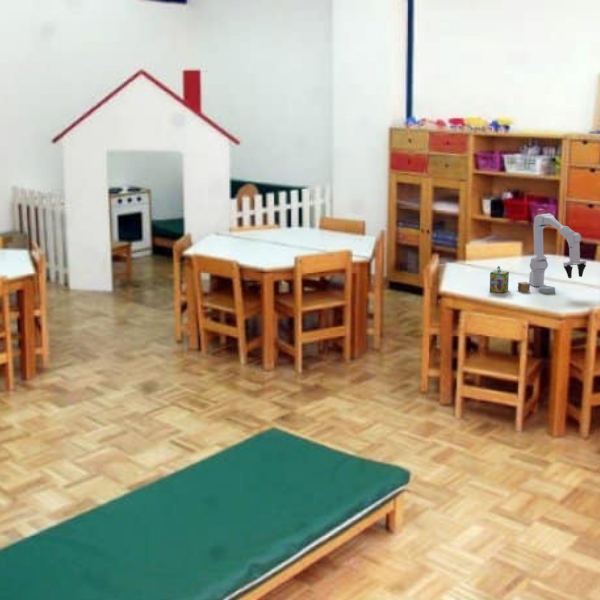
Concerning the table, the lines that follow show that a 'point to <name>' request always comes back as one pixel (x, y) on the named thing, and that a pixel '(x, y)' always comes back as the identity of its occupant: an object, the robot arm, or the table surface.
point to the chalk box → (499, 281)
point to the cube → (523, 286)
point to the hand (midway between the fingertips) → (575, 277)
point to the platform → (547, 289)
